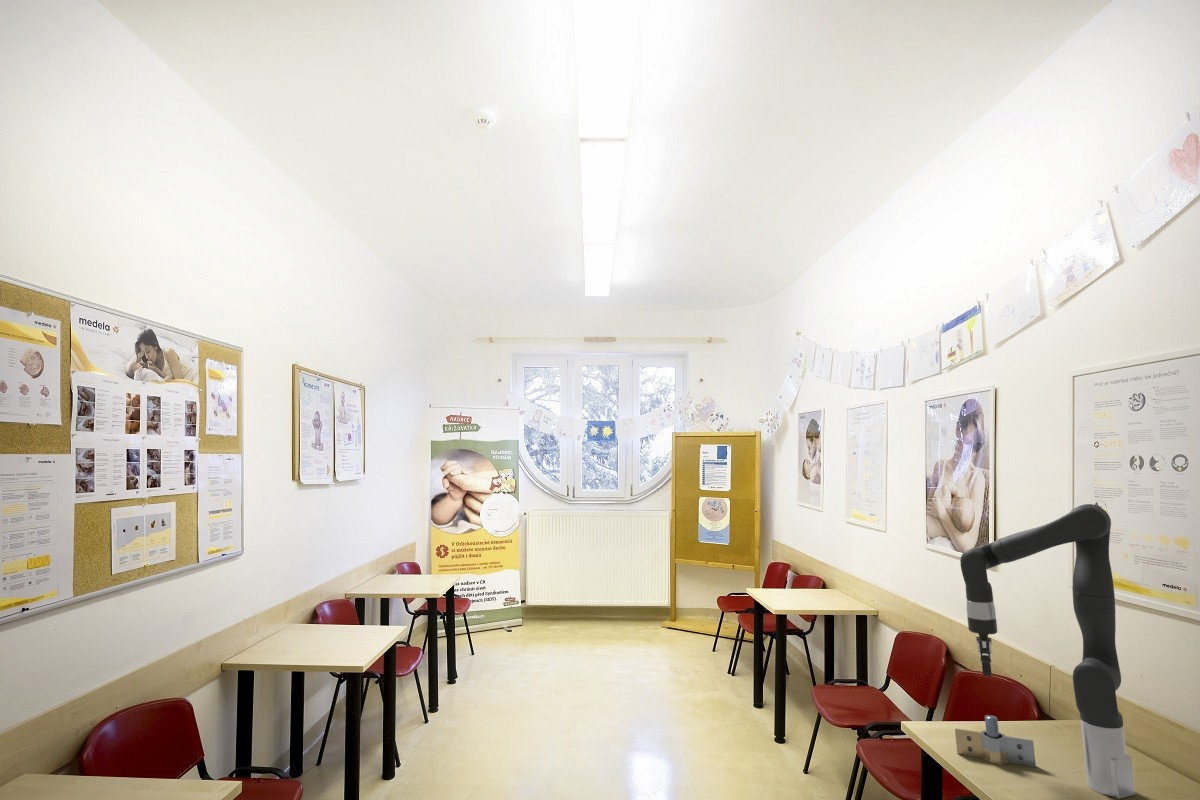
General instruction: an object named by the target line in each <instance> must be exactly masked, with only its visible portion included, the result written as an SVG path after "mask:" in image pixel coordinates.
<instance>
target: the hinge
mask: <svg viewBox="0 0 1200 800" xmlns="http://www.w3.org/2000/svg"><path fill="white" fill-rule="evenodd" d="M954 732H955V744H956V745H955V746H956V754H958V755H962V754H963V755H962V756H967V755H968V756H969V757H974V758H980V759H983V760H984V761H986V762H988V763H990V764H993V765H999V766H1003V765H1007V764H1009V763H1010V764H1014V765H1021V766H1027V767H1033V768H1036V767H1037V765H1036V764H1037V763H1036V756H1035V747H1034V746H1035V745H1034V743H1035V742H1034V740H1033V739H1027V738H1022V737H1021V738H1020V737H1014V736H1008V735H1006V734H1004V733H1002V732H999V738H991V737H988V736H987V734H986V730H981V731H976V730H975V731H974V730H968V729H961V728H956V727H955V729H954Z"/></svg>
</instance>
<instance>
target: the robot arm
mask: <svg viewBox="0 0 1200 800" xmlns="http://www.w3.org/2000/svg"><path fill="white" fill-rule="evenodd" d="M1111 529H1112V520H1111V516H1110V515H1109V514H1108V512H1107V511H1106V510H1105V509H1104V508H1102V507H1101V506H1099V505H1096V504H1092V503H1086V504H1081V505H1078V506H1076V507H1075V508H1073V509H1071V510H1070V512H1067V513H1066V514H1065V515H1063V516H1061V517H1059V518H1056V519H1055V520H1053V521H1051V522H1049V523H1046V524H1044V525H1040V526H1037V527H1034V528H1030V529H1026V530H1023V531H1020V532H1016V533H1012V534H1010V535H1007V536H1004V537H1001V538H998V539H997V540H994V541H993V542H990V543H985V544H983V545H978V546H976V547H972V548H969V549H967V550H966V551H964V552H963V553H962V554H961V556H960V563H959V564H960V569H961V574H962V576H963V578H962V579H963V581H964V584H965V596H966V598H965V599H966V616H967V626H968V627H967V628H968V631H969V632H971V633H974V634H977V635H978V636H975V638H976V639H975V640H976V645H977V649H978V650H977V651H978V655H980V657H979V658H980V659H979V660H980V662H981V666H982V667H981V668H982V669H981V670H982V675H983V676H986V677H992V675H993V674H992V665H991V663H992V659H991V656H993V653H992V650H993V649H992V646H993V642H992V641H993V640H992V637H989V635H995V634H997V633H998V624H997V614H996V607H995V604H994V603H995V602H994V594H993V592H994V591H993V586H992V584H991V583H990V582H989V579H988V572H987V570H989V569H991V568H994V567H997V566H999V565H1002V564H1008V563H1013V562H1015V561H1018V560H1021V559H1024V558H1027V557H1030V556H1032V555H1036V554H1038V553H1040V552H1043V551H1046V550H1048V549H1051V548H1054V547H1058V546H1061V545H1065V544H1068V543H1069V544H1070V543H1074V542H1075V543H1074V544H1075V551H1076V552H1075V554H1076V556H1075V562H1074V567H1073V568H1074V569H1073V577H1072V590H1071V591H1072V602H1073V603H1072V604H1073V610H1074V615H1075V618H1076V620H1077V623H1078V627H1079V628H1080V631H1081V635H1082V661H1081V662H1079V664H1078V665H1076V666H1075V667H1074V668H1073V671H1072V684H1073V691H1074V698H1075V699H1074V700H1075V704H1076V709H1077V710H1078V713H1079V718H1080V719H1079V720H1080V727H1081V728H1080V729H1081V739H1082V748H1083V756H1084V765H1085V766H1084V767H1085V775H1086V784H1087V786H1088V788H1090V789H1091V790H1093V791H1095V792H1096V793H1099V794H1102V795H1106V796H1109V797H1113V798H1116V799H1118V800H1119V799H1124V798H1127V797H1128V798H1129V797H1131V796H1135V795H1136V790H1135V782H1134V771H1133V762H1132V758H1131V756H1129V755H1128V754H1127V746H1126V739H1125V738H1126V737H1125V728H1124V720H1123V719H1124V718H1123V715H1122V713H1121V712H1120V711H1119V708H1118V701H1117V693H1116V692H1117V691H1118V689H1119V688H1120V686H1121V683H1122V674H1121V673H1122V672H1121V668H1120V665H1119V658H1118V652H1117V647H1116V598H1115V597H1116V596H1115V588H1114V587H1115V586H1114V579H1113V572H1112V567H1111V560H1110V540H1111V539H1110V537H1111Z"/></svg>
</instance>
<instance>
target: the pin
mask: <svg viewBox="0 0 1200 800" xmlns="http://www.w3.org/2000/svg"><path fill="white" fill-rule="evenodd" d="M984 721H985V723H984V724H985V731H986V734H987V736H988V737H991V738H999V723H998V717H997V716H995V715H991V714H986V715H984Z"/></svg>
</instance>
